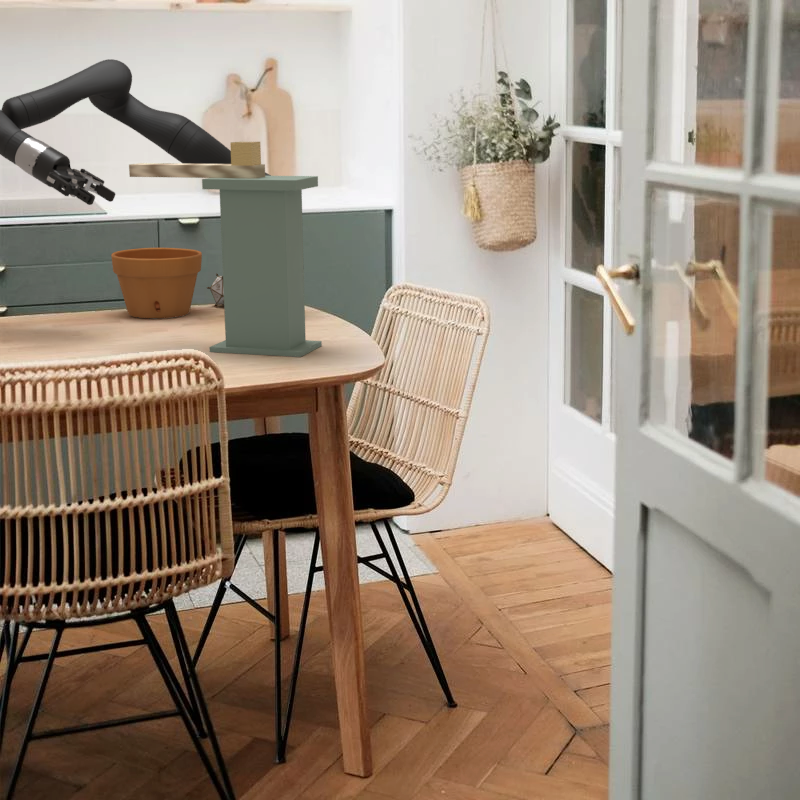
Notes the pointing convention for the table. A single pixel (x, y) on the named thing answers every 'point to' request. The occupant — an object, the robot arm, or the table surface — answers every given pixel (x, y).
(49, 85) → the robot arm
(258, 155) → the cube
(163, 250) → the flower pot
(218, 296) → the game die
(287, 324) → the shelf stand
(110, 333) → the table surface
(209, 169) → the wooden plank
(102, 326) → the table surface
